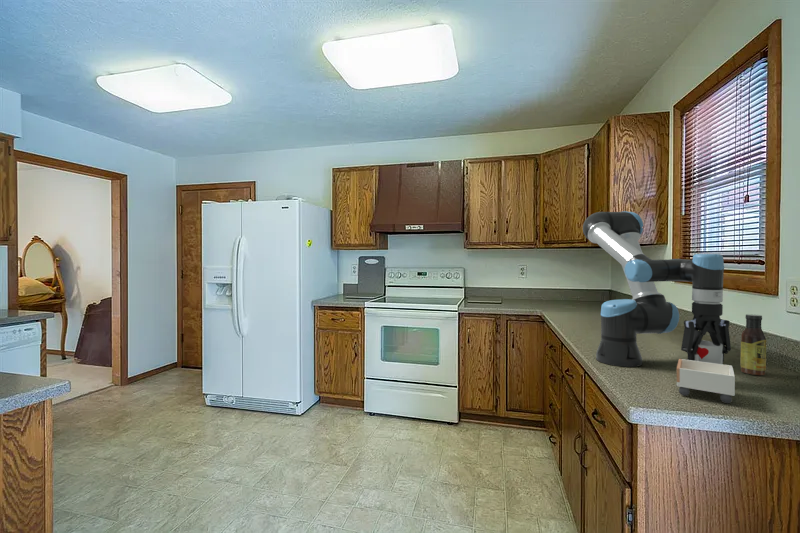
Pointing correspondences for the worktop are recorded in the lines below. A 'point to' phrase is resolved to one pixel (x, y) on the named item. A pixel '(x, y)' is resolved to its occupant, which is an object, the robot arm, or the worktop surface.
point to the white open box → (706, 378)
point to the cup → (709, 352)
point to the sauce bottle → (753, 347)
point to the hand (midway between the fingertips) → (705, 373)
